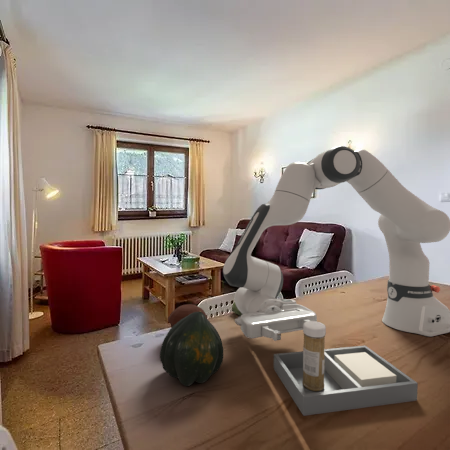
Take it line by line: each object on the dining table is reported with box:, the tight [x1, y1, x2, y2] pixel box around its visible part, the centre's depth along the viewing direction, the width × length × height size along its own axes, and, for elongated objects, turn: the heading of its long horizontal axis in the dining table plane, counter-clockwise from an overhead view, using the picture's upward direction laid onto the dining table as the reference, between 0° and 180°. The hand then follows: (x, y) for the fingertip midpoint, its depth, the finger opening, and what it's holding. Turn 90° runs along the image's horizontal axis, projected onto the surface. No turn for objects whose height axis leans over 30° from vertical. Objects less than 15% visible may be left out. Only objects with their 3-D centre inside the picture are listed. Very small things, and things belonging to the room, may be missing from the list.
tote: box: [273, 345, 419, 417], centre depth 64 cm, size 24×16×4 cm, turn 100°
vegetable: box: [231, 301, 243, 317], centre depth 104 cm, size 14×5×5 cm, turn 32°
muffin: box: [167, 304, 208, 329], centre depth 87 cm, size 12×11×10 cm
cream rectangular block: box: [334, 352, 396, 387], centre depth 65 cm, size 8×10×4 cm
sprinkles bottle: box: [302, 320, 327, 391], centre depth 63 cm, size 5×5×13 cm
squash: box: [159, 311, 224, 387], centre depth 69 cm, size 14×15×15 cm
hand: (295, 334), depth 69 cm, fingers open, 8 cm apart
